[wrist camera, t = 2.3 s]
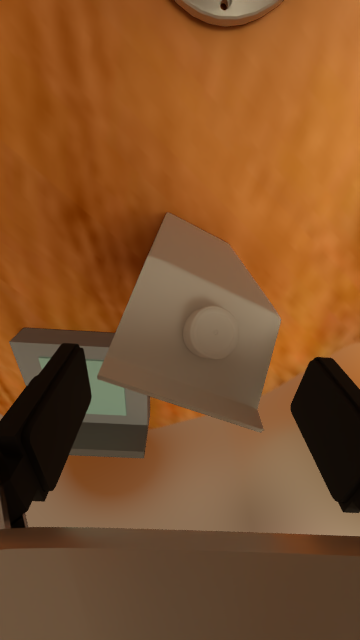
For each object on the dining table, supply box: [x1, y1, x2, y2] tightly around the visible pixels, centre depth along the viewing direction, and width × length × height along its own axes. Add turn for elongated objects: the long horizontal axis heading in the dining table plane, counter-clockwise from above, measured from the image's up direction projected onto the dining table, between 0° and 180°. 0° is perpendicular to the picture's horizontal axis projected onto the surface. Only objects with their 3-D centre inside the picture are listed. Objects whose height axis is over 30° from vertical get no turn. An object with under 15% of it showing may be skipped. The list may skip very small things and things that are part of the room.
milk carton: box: [97, 212, 281, 432], centre depth 17 cm, size 7×7×19 cm
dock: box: [9, 328, 150, 458], centre depth 31 cm, size 16×16×7 cm
